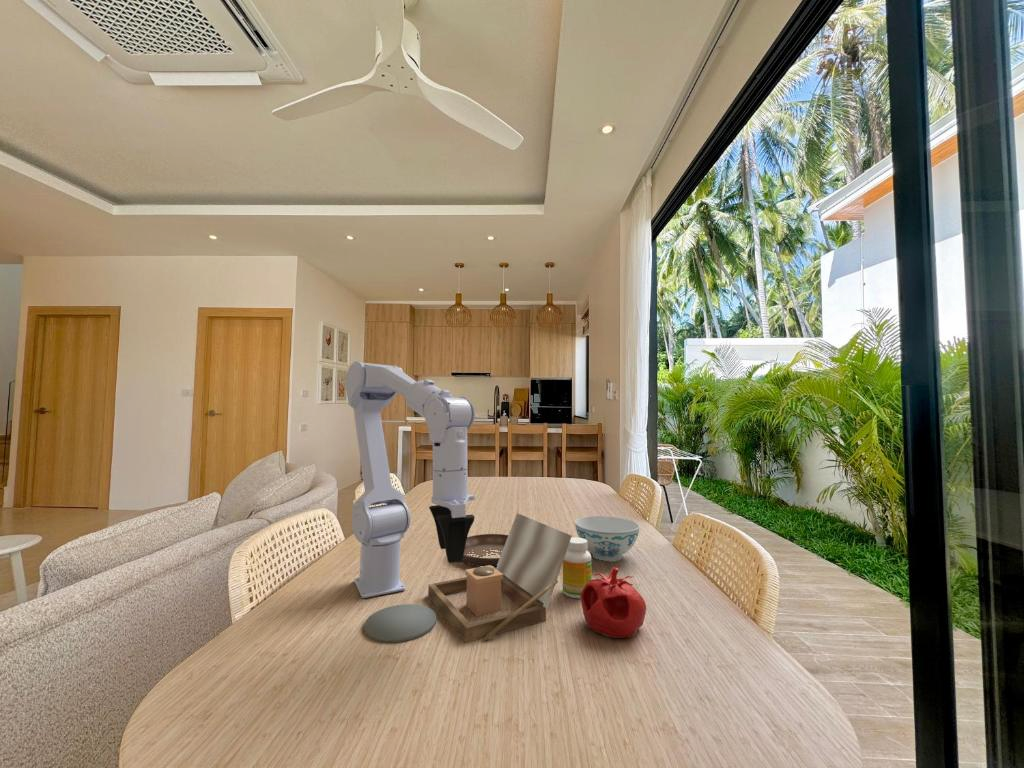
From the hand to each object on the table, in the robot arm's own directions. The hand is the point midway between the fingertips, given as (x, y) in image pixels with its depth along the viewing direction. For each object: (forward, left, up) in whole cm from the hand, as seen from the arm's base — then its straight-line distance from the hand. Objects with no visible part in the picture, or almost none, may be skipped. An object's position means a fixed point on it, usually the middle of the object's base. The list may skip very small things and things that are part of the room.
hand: (450, 554), depth 68 cm
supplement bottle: (+1, +25, -11) cm, 27 cm away
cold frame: (-2, +10, -11) cm, 15 cm away
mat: (-3, -7, -11) cm, 13 cm away
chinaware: (-12, +44, -11) cm, 47 cm away
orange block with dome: (-2, +7, -11) cm, 13 cm away
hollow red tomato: (+14, +22, -11) cm, 28 cm away
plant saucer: (-25, +20, -11) cm, 34 cm away
